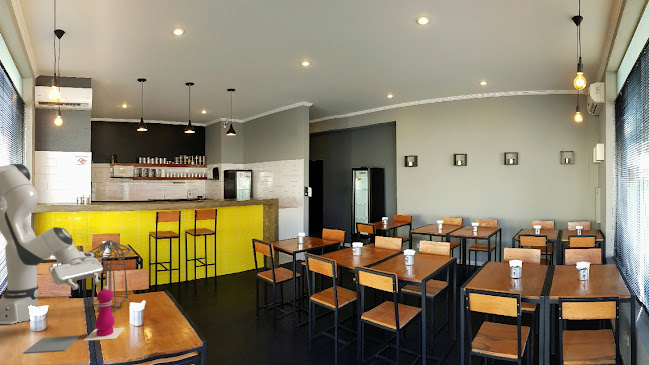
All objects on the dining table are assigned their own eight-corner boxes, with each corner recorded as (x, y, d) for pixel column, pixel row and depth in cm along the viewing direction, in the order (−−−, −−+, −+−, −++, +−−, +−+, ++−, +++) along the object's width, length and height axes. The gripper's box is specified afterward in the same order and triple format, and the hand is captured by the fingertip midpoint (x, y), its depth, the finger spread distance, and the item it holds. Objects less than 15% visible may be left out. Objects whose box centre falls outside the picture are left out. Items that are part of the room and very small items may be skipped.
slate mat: (23, 353, 147) (23, 352, 147) (43, 338, 161) (43, 337, 161) (64, 350, 150) (64, 349, 150) (80, 336, 163) (80, 335, 163)
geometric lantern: (133, 305, 203) (134, 238, 202) (113, 317, 188) (113, 244, 186) (106, 303, 206) (106, 237, 204) (83, 314, 190) (83, 242, 189)
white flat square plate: (83, 340, 159) (83, 340, 159) (95, 329, 171) (95, 329, 171) (115, 338, 161) (115, 338, 161) (124, 328, 173) (124, 327, 173)
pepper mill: (106, 337, 162) (106, 289, 161) (90, 336, 163) (91, 287, 163) (118, 331, 169) (118, 284, 169) (103, 329, 170) (104, 283, 170)
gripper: (50, 261, 162) (66, 287, 158) (95, 252, 181) (111, 275, 177) (43, 271, 163) (59, 297, 160) (89, 261, 182) (104, 284, 179)
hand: (87, 285), depth 169 cm, fingers open, 8 cm apart
